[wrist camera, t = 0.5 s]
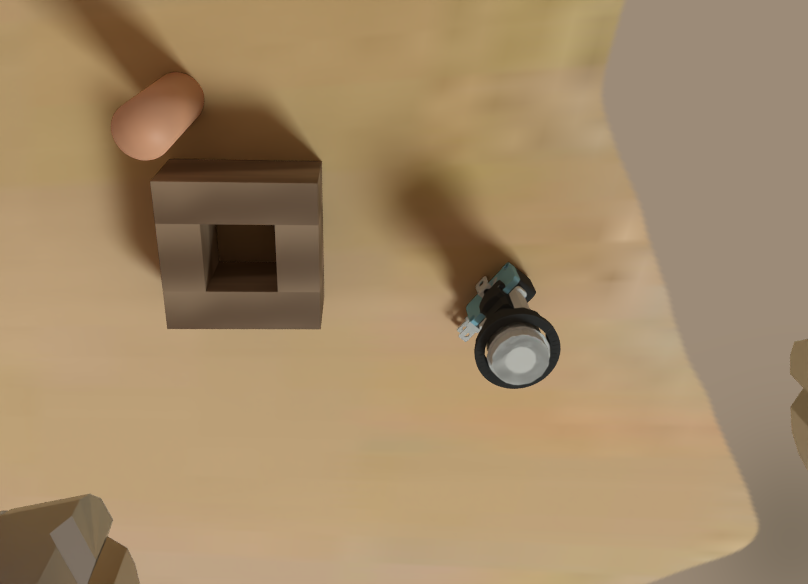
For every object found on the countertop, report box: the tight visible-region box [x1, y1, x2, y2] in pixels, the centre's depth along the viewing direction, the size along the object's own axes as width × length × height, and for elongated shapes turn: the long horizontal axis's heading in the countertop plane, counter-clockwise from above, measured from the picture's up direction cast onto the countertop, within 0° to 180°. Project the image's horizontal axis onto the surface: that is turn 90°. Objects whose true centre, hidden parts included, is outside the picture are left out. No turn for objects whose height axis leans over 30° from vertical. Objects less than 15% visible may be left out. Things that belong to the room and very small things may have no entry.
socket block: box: [150, 159, 324, 329], centre depth 51 cm, size 10×10×5 cm
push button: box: [457, 262, 560, 389], centre depth 51 cm, size 7×5×10 cm
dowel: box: [111, 72, 204, 160], centre depth 45 cm, size 3×3×9 cm
